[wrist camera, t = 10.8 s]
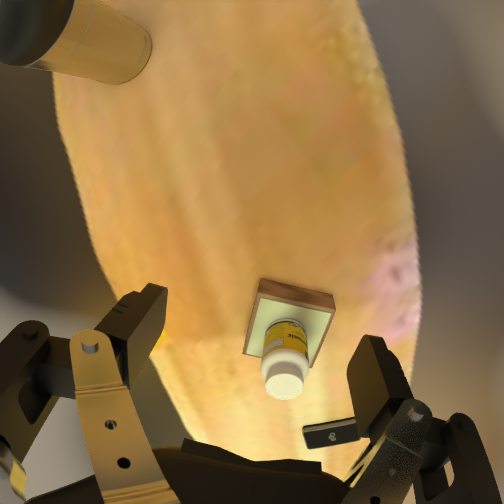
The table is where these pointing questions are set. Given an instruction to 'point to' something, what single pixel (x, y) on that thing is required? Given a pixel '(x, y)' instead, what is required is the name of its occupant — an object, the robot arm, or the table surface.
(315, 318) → the pedestal
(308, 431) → the external hard drive
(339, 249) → the table surface
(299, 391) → the supplement bottle
